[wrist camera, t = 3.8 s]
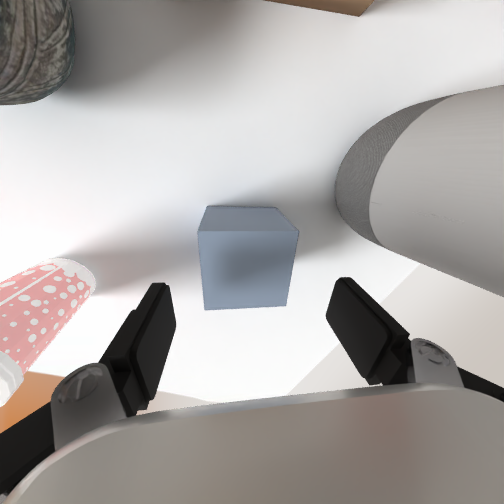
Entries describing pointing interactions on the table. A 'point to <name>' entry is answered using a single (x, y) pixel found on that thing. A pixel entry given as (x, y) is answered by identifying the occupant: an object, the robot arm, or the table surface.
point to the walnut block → (332, 5)
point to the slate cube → (245, 257)
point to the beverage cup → (37, 314)
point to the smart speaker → (433, 185)
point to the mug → (34, 48)
